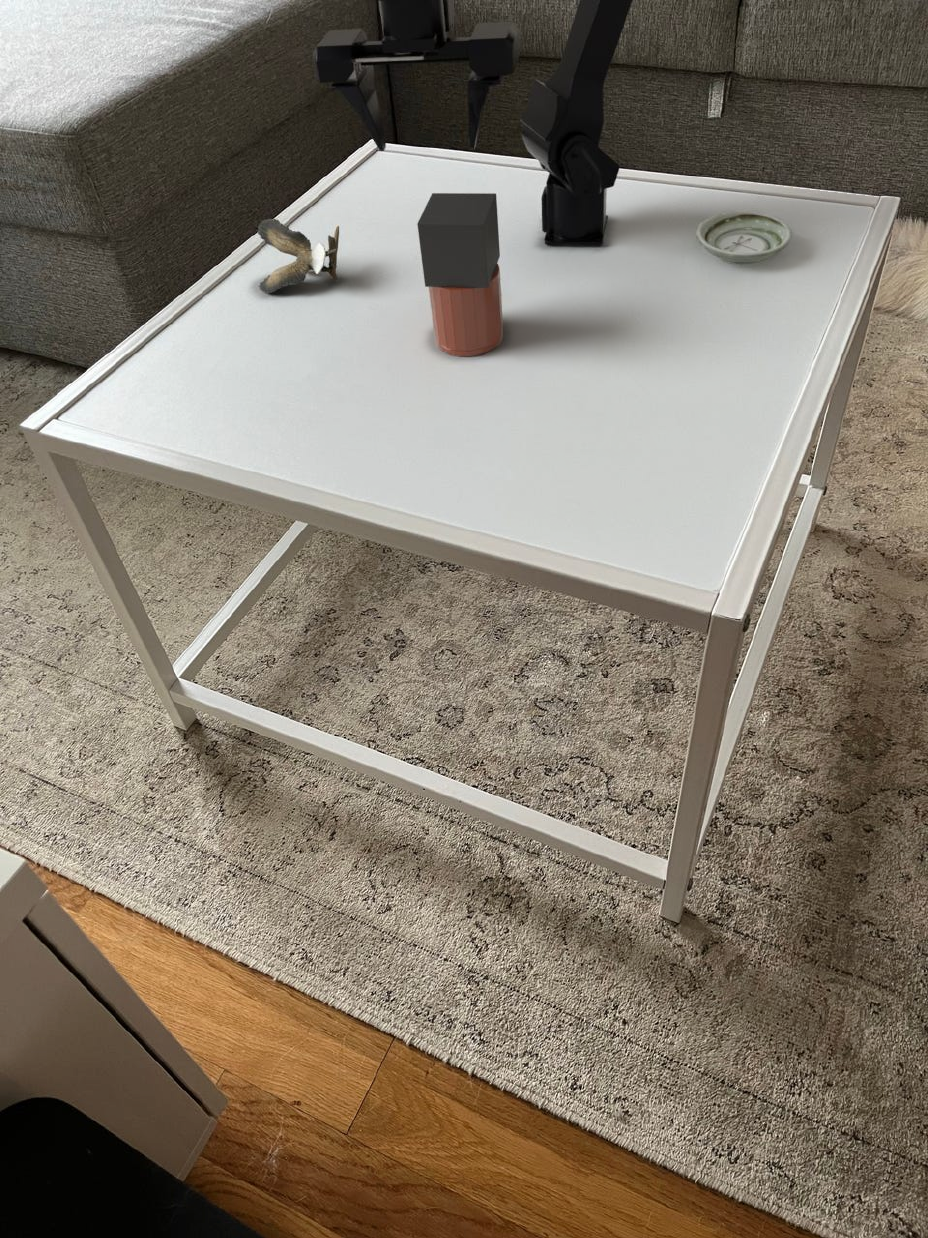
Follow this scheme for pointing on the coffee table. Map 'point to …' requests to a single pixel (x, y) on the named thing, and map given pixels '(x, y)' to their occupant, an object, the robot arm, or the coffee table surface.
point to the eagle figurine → (301, 249)
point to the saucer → (743, 236)
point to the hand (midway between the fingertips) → (427, 148)
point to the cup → (468, 318)
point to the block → (459, 240)
